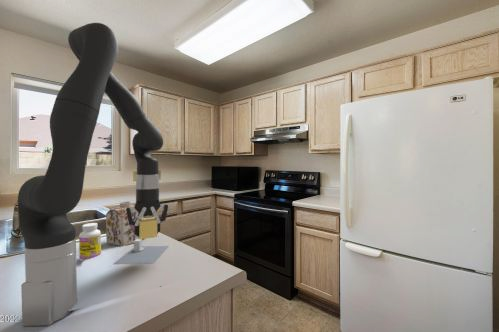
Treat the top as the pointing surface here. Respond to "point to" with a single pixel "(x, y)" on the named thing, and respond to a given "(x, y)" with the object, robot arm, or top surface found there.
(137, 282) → the top surface
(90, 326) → the top surface
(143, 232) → the yellow cube
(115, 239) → the decorative jar
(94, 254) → the supplement bottle
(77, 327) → the top surface
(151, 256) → the plate
